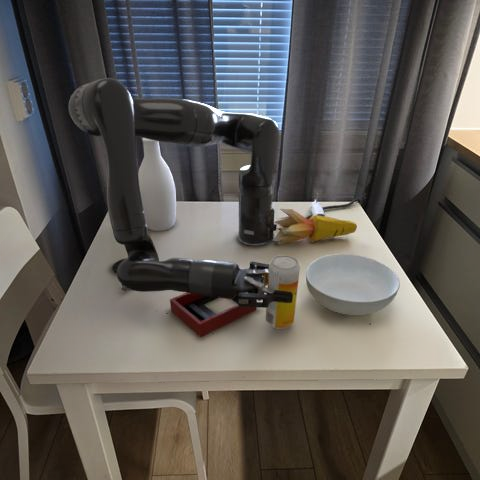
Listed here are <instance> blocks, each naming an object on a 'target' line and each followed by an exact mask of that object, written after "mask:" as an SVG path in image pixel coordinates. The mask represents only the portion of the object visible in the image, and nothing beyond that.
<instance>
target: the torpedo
mask: <svg viewBox="0 0 480 480" xmlns="http://www.w3.org/2000/svg"><path fill="white" fill-rule="evenodd" d="M318 194H319V192H316V198H319V197H318V196H319V195H318ZM322 207H323V204H322V203H321V202H318V201H317V199H314V201H313V202H312V201H311V205H310V206H308V208H309V209H310V212H311V214H312V215H313V216H314V215H319V216H325V217H326V214H325V210H323V208H322Z"/></svg>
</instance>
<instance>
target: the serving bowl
mask: <svg viewBox="0 0 480 480" xmlns="http://www.w3.org/2000/svg"><path fill="white" fill-rule="evenodd" d="M305 284H306V287H307V290H308V292H309V293H310V295H311V296H312V298H313V299H314V300H315V301H316V302H317V303H318V304H320V306H323V307H324V308H326V309H328V310H329V311H332V312H335V313H339V314H341V315H342V314H343V315H348V316H365V315H370V314H373V313H376V312H378V311H381V310H383V309H385V308H386V307H387V306H389V305H390V304H391V303H392V301H393V300H394V299H395V297H396V296H397V294H398V292H399V290H400V287H401V280H400V278H399V276H398V274H397V273H396V272H395V270H393V269H392V268H391V267H389V266H388V265H387V264H385V263H383V262H381V261H379V260H376V259H375V258H371V257H367V256H363V255H359V254H353V253H351V254H349V253H335V254H328V255H325V256H321V257H319V258H317V259H315V260H313V261H312V262H310V264H308V266H307V268H306V270H305Z"/></svg>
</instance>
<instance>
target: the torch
mask: <svg viewBox="0 0 480 480" xmlns="http://www.w3.org/2000/svg"><path fill="white" fill-rule="evenodd" d="M279 210H280V211H282V212H283V213H284V214H286V215H287V216H283V217H279V218H276V219H274V224H275V225H277V230H278V232H277V233H276V235H275V236H274V237H273V241H276V242H277V243H276V245H280V244H288V243H289V244H290V243H292V242H297V241H300V240H303V239H306V238H308V240H309V241H310V243H315V242H318V241H321V240H325V239H327V238H336V237H343V236H347V235H350V234H353V233H355V232H356V231H357V228H358V225H357V223H356V222H354V221H351V220H345V219H339V218H334V217H329V216H326V215H325V216H319V215H314V216H311V217H310V219H306V216H304V215H302V214H301V213H299V212H297V211H295V210H294V209H292V208H279Z"/></svg>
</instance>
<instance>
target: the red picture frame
mask: <svg viewBox="0 0 480 480" xmlns="http://www.w3.org/2000/svg"><path fill="white" fill-rule="evenodd" d="M217 299H219V298H217V297H209V296H202V295H197V294H194V293H187V292H183V293H182V294H179V295H177V296H174V297H173V298H169V304H170V305H169V306H170V313H171V314H173V315H174V316H175V317H176V318H177V319H179V320H180V322H182V323H183V324H184V325H185V326H187V327H188V328H189V330H191V331H193V332H194V334H196V335H197V336H198V338H202V337H205V336H206V335H207V336H208V335H209V334H210V333H213V332H214V331H217V330H219V329H221V328H223V327H225V326H227V325H230V324H231V323H233V322H235V321H237V320H239V319H242V318H243V317H245V316H247V315H250V314H252V313H254V312H256V311H257V309H258V307H240V306H238V296H237V295H236V296H235V298H234V299H231V300H232V301H233V302H235V303H236V304H235V305H233V306H231V307H229V308H226V309H225V310H222V311H220V312H218V313H216V312H214V310H212V309H211V308H209V307H208V306H207V305H206V304H208V303H211V302H213V301H215V300H217ZM256 302H258V300H256Z"/></svg>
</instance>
